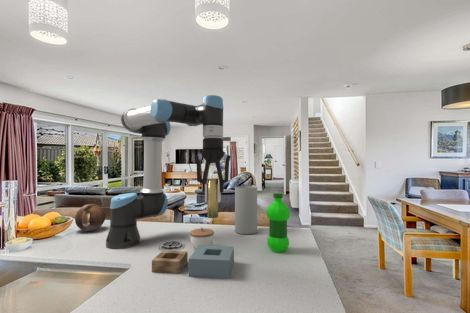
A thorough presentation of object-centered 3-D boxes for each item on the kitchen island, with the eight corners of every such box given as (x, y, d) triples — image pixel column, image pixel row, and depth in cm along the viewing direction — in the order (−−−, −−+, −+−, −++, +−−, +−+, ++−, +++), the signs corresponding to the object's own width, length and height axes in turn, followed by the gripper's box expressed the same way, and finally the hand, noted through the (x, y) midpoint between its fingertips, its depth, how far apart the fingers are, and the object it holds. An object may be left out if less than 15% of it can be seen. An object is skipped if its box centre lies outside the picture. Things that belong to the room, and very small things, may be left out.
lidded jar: (204, 243, 119) (204, 223, 119) (218, 249, 112) (218, 227, 112) (184, 248, 112) (185, 227, 112) (199, 255, 104) (199, 232, 104)
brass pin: (206, 218, 89) (206, 178, 90) (208, 215, 93) (208, 178, 94) (217, 218, 89) (217, 179, 89) (219, 215, 93) (219, 178, 93)
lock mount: (151, 271, 88) (151, 260, 88) (162, 260, 98) (163, 250, 98) (179, 273, 87) (179, 261, 87) (187, 261, 97) (187, 251, 97)
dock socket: (188, 276, 85) (188, 258, 85) (198, 260, 99) (198, 245, 99) (229, 278, 83) (229, 260, 83) (233, 261, 97) (234, 246, 97)
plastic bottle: (270, 245, 117) (270, 191, 117) (292, 248, 112) (292, 193, 113) (263, 252, 108) (262, 194, 108) (287, 256, 103) (286, 195, 104)
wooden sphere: (87, 226, 150) (88, 201, 150) (110, 227, 148) (111, 202, 148) (67, 233, 135) (68, 206, 135) (93, 235, 133) (93, 206, 133)
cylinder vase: (243, 227, 148) (243, 185, 149) (261, 231, 141) (261, 186, 142) (230, 232, 138) (230, 187, 139) (249, 236, 131) (249, 188, 131)
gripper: (187, 137, 89) (187, 202, 89) (234, 136, 87) (234, 203, 87) (193, 139, 97) (193, 199, 96) (236, 138, 95) (236, 200, 94)
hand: (212, 201), depth 91 cm, fingers closed on brass pin, 4 cm apart
